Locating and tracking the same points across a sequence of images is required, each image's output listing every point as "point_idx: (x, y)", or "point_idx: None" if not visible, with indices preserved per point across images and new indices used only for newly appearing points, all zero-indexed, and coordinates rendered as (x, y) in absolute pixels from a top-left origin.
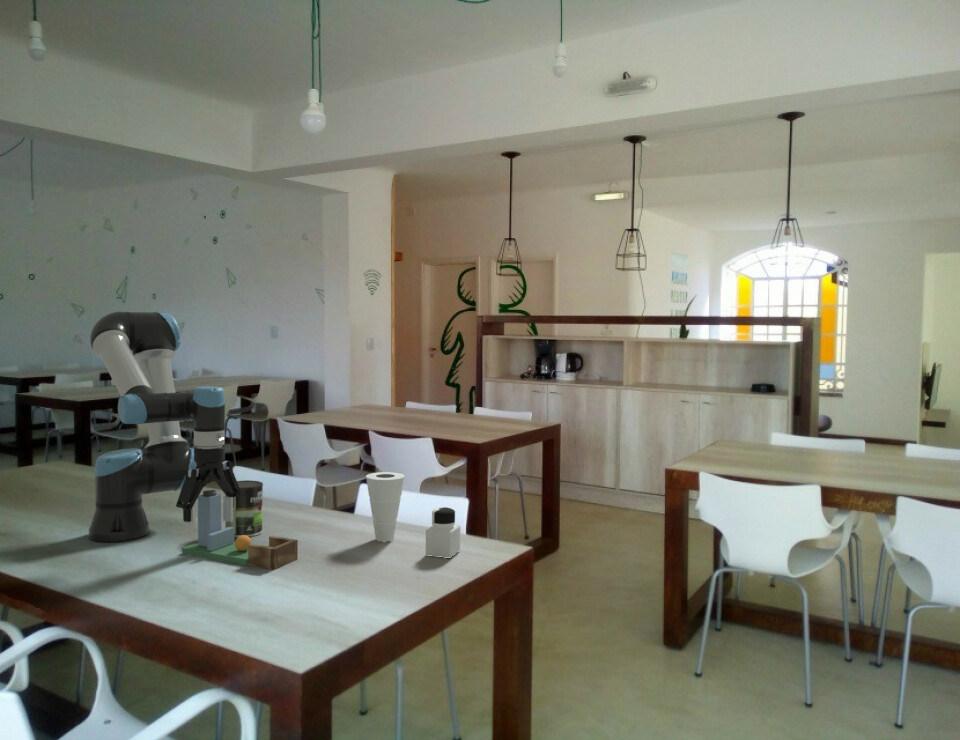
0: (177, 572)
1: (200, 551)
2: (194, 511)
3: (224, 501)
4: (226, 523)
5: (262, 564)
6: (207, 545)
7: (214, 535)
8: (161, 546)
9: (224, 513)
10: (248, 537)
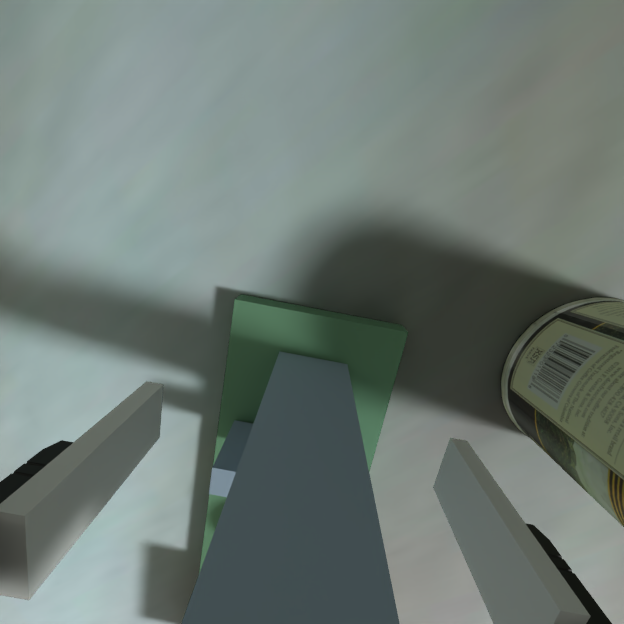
0: (62, 402)
1: (222, 395)
2: (46, 568)
3: (523, 569)
4: (573, 347)
5: None
6: (229, 432)
7: (225, 493)
8: (306, 131)
9: (469, 479)
10: None
